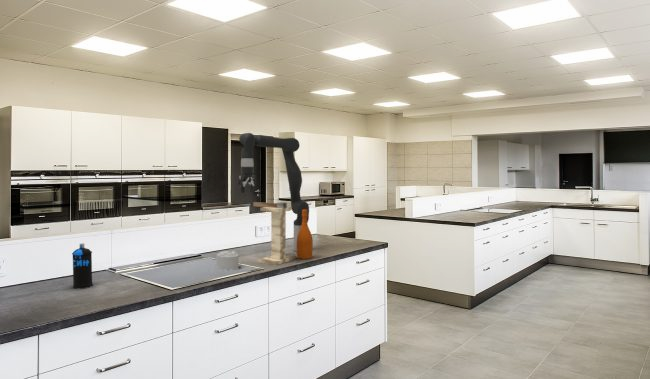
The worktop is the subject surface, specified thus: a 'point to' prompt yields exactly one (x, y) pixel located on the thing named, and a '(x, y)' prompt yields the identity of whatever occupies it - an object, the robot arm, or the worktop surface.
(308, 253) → the wine bottle
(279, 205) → the rod
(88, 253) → the aerosol can
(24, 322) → the worktop surface
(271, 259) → the stand
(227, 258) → the lumpy-topped squat cylinder
